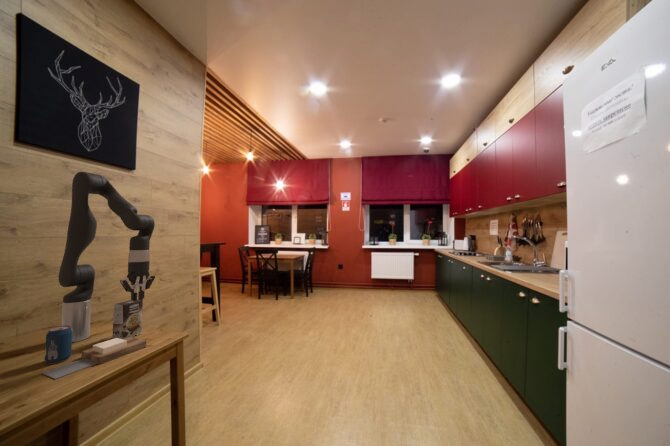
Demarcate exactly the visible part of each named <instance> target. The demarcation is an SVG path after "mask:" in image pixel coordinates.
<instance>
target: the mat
mask: <svg viewBox="0 0 670 446" xmlns="http://www.w3.org/2000/svg"><path fill="white" fill-rule="evenodd" d="M95 365H99V364H98V363H97V362H94V361H91V360H88V359H86V358H80V359H78V360H75V361H72V362H69V363H65V364H63V365H61V366H57V367H55V368H52V369H48V370H45V371H43V372H41V374H42V375H44V376H47V377H48V378H50V379H53V380H54V381H55V380H58V379H60V378H64V377H66V376H68V375H72V374H74V373H78V372H80V371H82V370H84V369H87V368H90V367H92V366H95Z"/></svg>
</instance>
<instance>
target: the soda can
mask: <svg viewBox="0 0 670 446" xmlns="http://www.w3.org/2000/svg"><path fill="white" fill-rule="evenodd" d="M70 327H71V326H62V325H60V326H54V327H51V328H49V329H48V332H47V333H46V334H45V346H44V347H45V348H44V349H45V350H44V362H46V364H48V365H55V364H60V363H62V362H65V361H67V360H69V358H71V355H72V350H73V349H72V348H73V342H72V329H71V328H70Z"/></svg>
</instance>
